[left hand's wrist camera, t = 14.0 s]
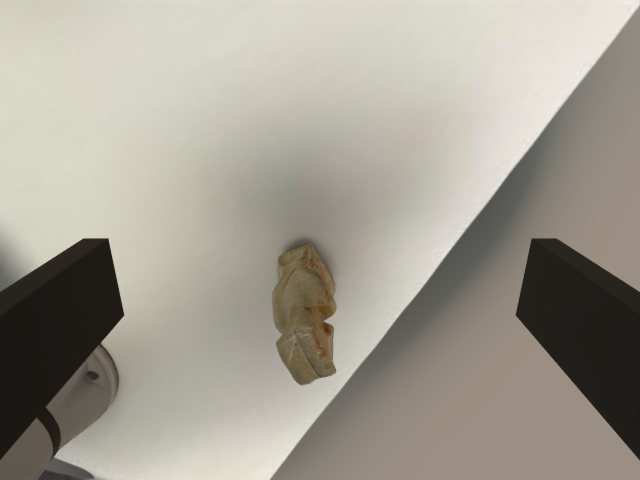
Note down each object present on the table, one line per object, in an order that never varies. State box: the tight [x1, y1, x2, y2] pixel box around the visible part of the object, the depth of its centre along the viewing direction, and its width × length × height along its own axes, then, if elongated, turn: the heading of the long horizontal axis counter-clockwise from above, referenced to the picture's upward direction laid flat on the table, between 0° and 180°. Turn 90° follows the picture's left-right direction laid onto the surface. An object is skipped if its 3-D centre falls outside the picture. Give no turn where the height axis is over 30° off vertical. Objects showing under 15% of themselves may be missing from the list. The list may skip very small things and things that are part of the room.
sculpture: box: [272, 244, 337, 385], centre depth 37 cm, size 6×7×15 cm
